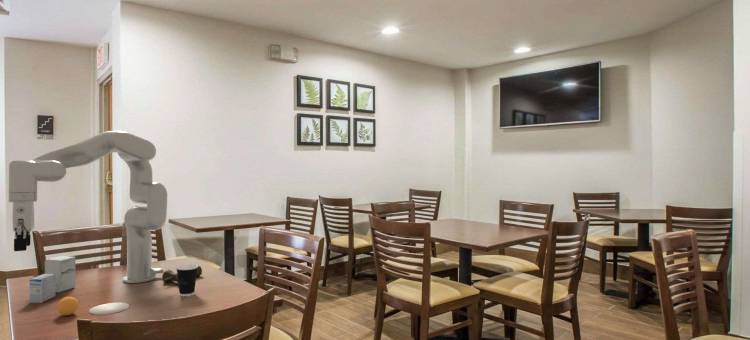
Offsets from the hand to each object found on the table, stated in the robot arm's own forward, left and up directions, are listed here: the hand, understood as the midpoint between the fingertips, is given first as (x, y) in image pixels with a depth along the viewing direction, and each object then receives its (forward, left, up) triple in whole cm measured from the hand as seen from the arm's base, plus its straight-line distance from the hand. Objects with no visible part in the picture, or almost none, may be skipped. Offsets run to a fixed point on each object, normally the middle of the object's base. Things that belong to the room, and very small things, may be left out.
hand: (22, 248), depth 149 cm
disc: (-25, +9, -22) cm, 34 cm away
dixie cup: (-51, +6, -22) cm, 56 cm away
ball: (-13, +9, -19) cm, 25 cm away
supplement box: (-10, -27, -22) cm, 36 cm away
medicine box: (-5, -15, -22) cm, 27 cm away
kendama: (-53, -15, -23) cm, 59 cm away
